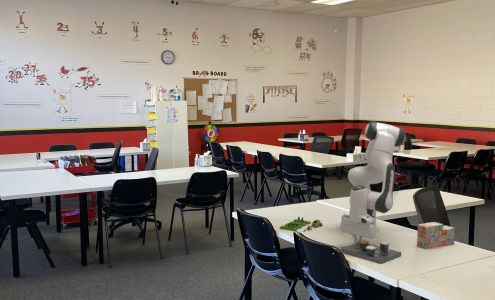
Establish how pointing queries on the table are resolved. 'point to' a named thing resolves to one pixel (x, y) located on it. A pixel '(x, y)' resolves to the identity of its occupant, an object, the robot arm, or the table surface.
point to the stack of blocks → (434, 235)
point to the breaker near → (370, 250)
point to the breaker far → (383, 245)
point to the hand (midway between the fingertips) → (357, 243)
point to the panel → (378, 257)
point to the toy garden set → (300, 224)
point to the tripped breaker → (363, 244)
